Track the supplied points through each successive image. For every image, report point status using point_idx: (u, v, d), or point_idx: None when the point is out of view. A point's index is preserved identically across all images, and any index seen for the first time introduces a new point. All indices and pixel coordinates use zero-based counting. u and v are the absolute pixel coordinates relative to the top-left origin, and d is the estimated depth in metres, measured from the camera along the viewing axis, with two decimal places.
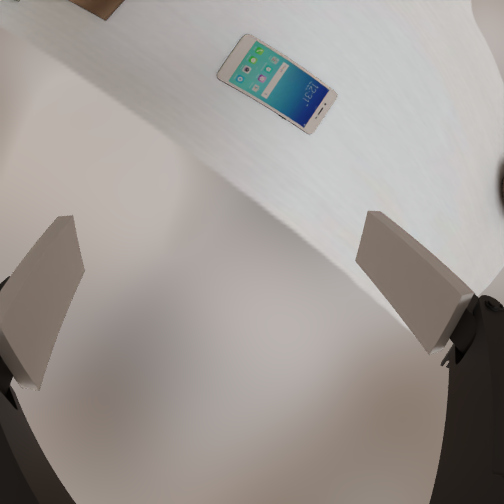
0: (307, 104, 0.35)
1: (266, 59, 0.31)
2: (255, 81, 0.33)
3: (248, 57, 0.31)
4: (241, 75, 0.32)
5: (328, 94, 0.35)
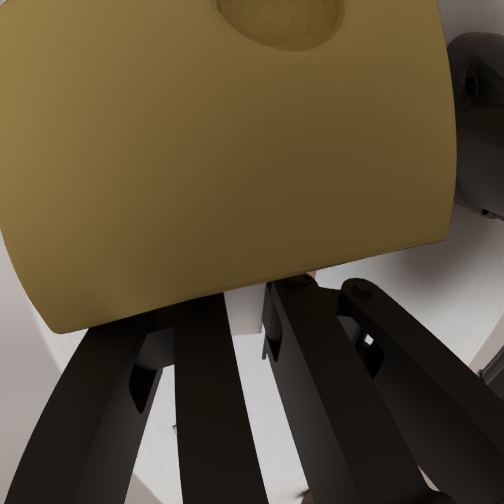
0: None
1: None
2: None
3: None
4: None
5: None
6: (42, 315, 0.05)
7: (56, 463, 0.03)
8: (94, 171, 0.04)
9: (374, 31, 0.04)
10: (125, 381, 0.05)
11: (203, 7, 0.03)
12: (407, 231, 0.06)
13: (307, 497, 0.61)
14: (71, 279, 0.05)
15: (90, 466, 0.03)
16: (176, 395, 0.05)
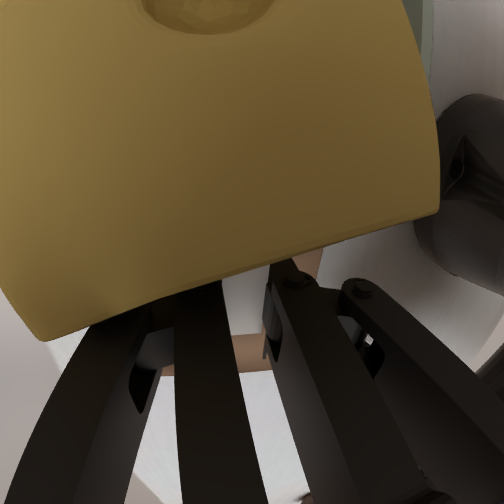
0: None
1: None
2: None
3: None
4: None
5: None
6: (26, 324, 0.05)
7: (55, 463, 0.03)
8: (48, 183, 0.04)
9: None
10: (125, 381, 0.05)
11: (129, 12, 0.03)
12: (387, 206, 0.05)
13: (305, 501, 0.63)
14: (44, 287, 0.05)
15: (90, 466, 0.03)
16: (176, 395, 0.05)
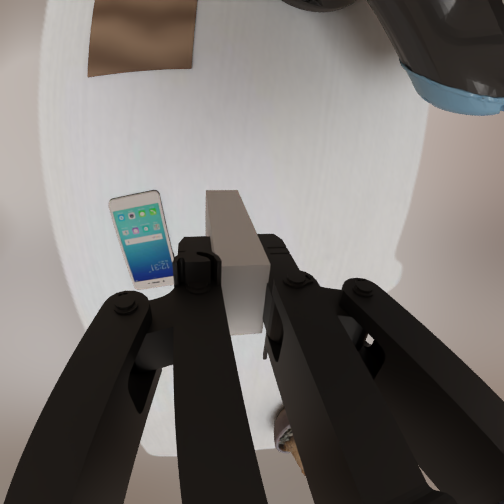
0: (150, 271, 0.43)
1: (151, 221, 0.39)
2: (130, 228, 0.39)
3: (140, 209, 0.38)
4: (124, 216, 0.38)
5: (171, 277, 0.44)
6: None
7: (55, 463, 0.03)
8: None
9: None
10: (125, 381, 0.05)
11: None
12: None
13: (278, 416, 0.68)
14: None
15: (89, 466, 0.03)
16: (175, 395, 0.05)
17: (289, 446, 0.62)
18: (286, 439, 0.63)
